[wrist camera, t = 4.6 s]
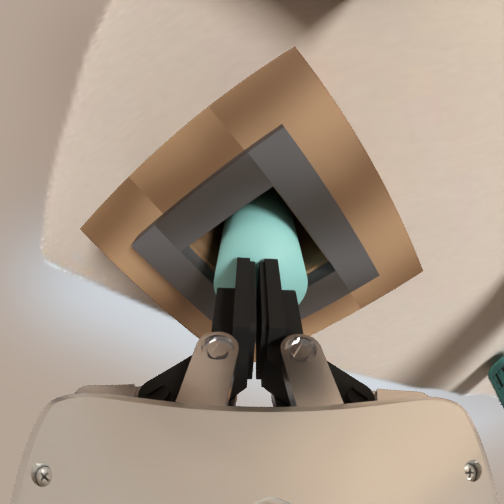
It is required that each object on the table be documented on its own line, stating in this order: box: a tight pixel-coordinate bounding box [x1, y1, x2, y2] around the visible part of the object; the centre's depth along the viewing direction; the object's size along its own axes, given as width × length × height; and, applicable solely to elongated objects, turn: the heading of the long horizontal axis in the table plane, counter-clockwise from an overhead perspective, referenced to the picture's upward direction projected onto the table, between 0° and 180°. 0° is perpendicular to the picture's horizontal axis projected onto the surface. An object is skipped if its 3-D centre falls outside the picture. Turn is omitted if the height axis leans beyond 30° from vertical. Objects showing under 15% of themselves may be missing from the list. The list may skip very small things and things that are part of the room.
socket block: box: [80, 47, 423, 362], centre depth 18 cm, size 14×14×9 cm
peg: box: [214, 187, 308, 305], centre depth 17 cm, size 4×4×9 cm
